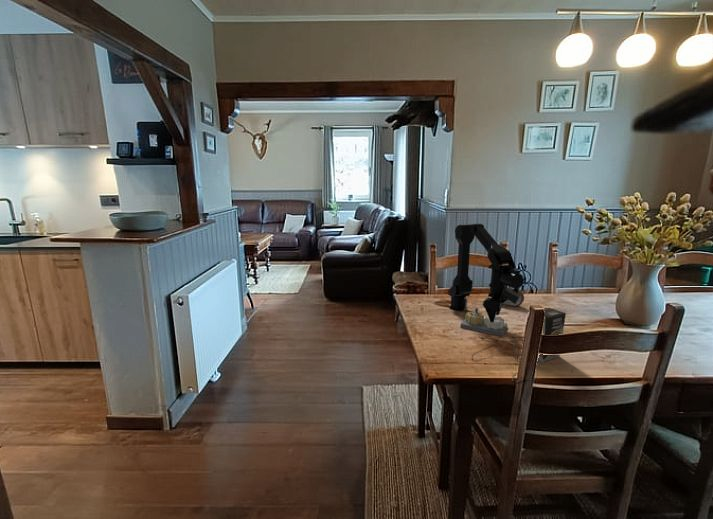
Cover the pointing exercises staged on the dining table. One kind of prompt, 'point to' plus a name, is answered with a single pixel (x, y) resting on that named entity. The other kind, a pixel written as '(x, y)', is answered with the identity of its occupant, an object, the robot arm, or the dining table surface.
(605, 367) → the dining table surface
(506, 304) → the tin
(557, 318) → the coffee box
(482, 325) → the gear board
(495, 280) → the robot arm
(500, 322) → the loose gear
